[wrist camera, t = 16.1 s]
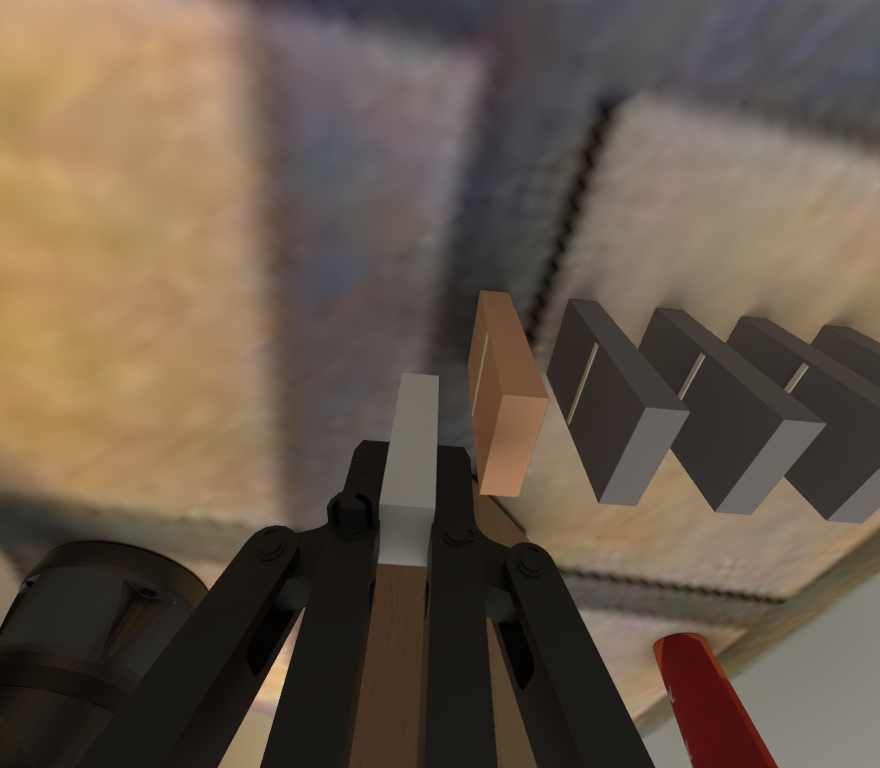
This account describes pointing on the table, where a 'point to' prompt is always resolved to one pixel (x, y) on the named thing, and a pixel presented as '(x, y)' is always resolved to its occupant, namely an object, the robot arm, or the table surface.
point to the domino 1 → (612, 404)
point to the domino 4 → (851, 351)
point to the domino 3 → (838, 404)
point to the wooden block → (400, 657)
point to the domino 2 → (726, 414)
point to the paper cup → (708, 706)
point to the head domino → (503, 396)
